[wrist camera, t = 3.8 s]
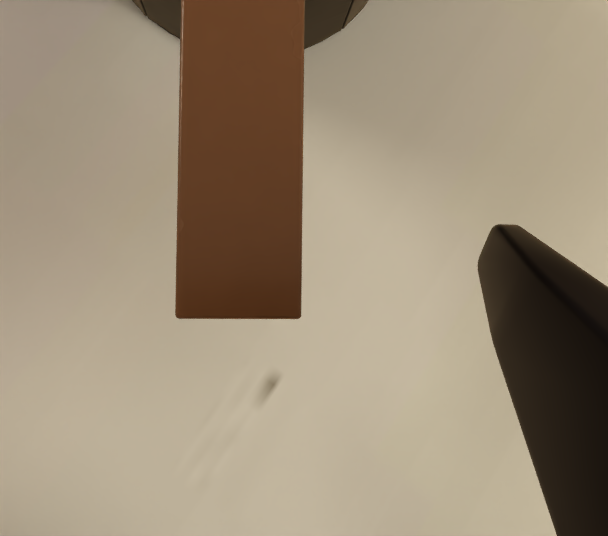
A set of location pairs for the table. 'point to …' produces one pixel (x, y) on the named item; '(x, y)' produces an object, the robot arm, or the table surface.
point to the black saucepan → (242, 149)
